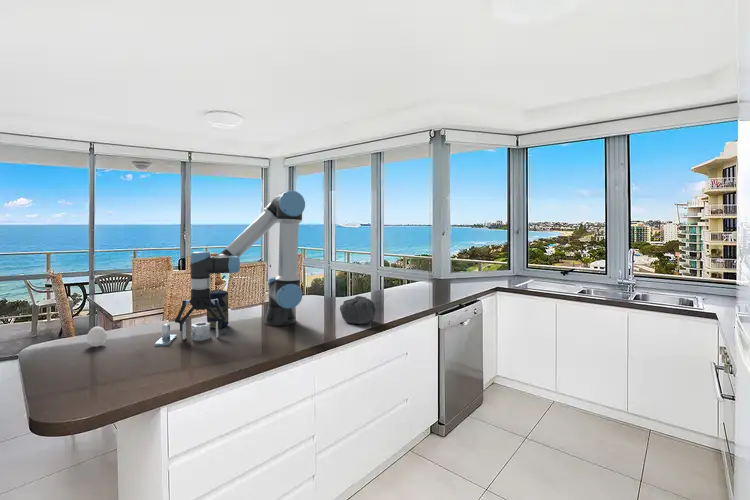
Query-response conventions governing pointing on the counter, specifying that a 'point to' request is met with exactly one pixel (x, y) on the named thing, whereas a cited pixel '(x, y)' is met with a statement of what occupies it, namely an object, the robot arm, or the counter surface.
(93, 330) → the egg
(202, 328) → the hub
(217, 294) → the canister
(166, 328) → the shaft stand
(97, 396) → the counter surface
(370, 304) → the rock
